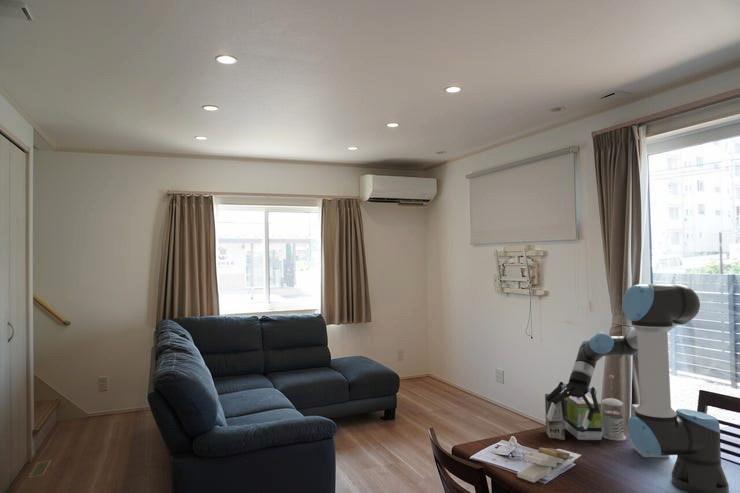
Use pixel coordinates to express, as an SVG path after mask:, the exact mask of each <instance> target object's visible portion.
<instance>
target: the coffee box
mask: <svg viewBox="0 0 740 493" xmlns="http://www.w3.org/2000/svg"><path fill="white" fill-rule="evenodd" d="M549 394H550V393H544V405H545V406H544V410H545V411H544V412H545V433H546V435H547V436H548V438H550V439H558V440H561V441H562V440H563V441H565V439H566V428H565V411H564V399H563V400H562V401H560V402H558V403H557V404H555V406H556V408H555V411H554V414H553V417H552V419H551V421H549V420H548V418H547V414H548V412H549V411H548V409H547V408H548V405H549V403H548V402H547V400H546V397H547V396H548V395H549Z"/></svg>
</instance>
